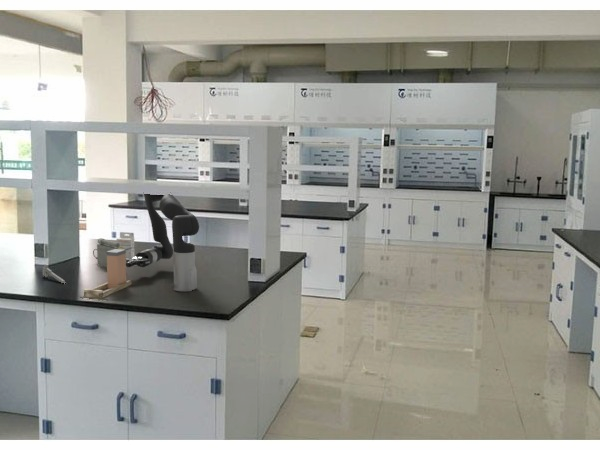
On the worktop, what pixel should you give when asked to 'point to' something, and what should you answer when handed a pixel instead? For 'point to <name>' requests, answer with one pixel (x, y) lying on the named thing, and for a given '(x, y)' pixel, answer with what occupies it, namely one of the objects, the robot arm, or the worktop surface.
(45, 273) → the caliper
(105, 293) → the chute
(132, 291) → the worktop surface
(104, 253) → the geiger counter
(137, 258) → the robot arm
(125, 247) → the ink cartridge box
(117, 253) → the block
